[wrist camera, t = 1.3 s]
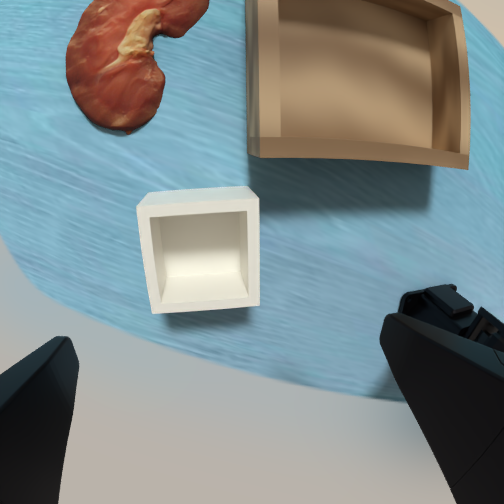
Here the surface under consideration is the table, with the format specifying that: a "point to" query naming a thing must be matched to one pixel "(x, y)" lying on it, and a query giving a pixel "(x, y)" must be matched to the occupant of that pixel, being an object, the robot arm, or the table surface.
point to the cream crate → (200, 248)
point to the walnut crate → (358, 81)
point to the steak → (124, 58)
